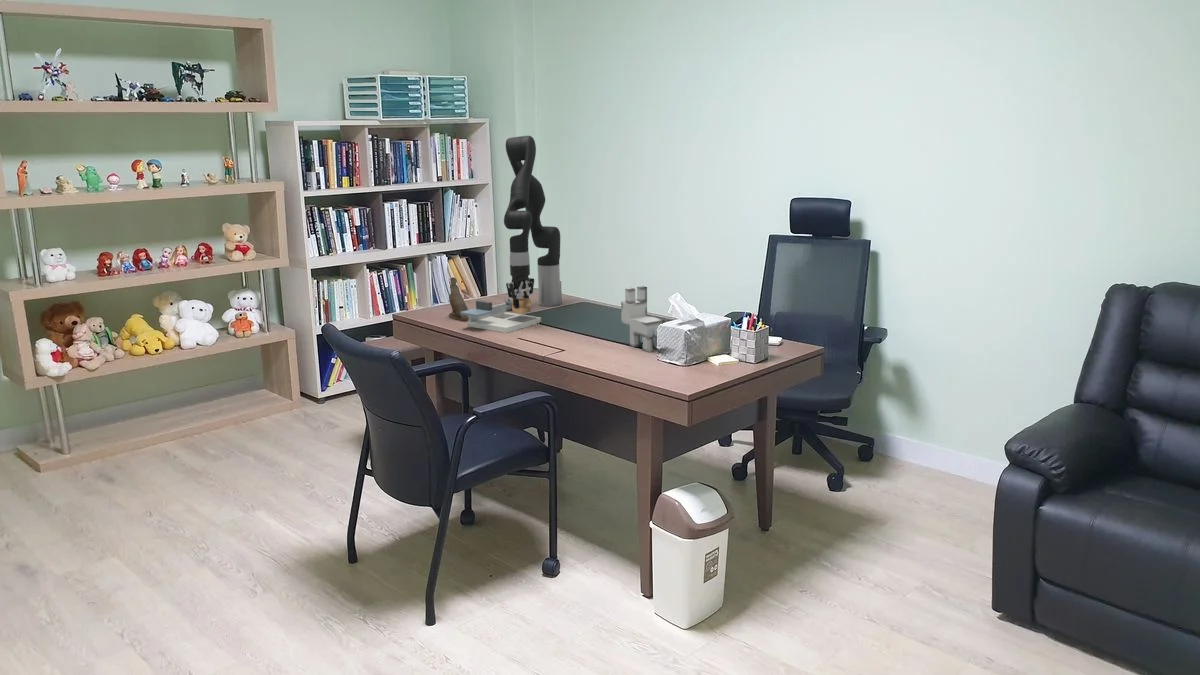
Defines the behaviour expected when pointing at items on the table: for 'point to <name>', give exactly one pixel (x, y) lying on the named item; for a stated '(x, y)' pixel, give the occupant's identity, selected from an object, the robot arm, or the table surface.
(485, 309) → the sliding lid
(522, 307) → the wooden block
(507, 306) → the round bodied animal figurine
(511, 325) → the puzzle board
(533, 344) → the table surface
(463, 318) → the worn brown figurine
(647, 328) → the toy llama
